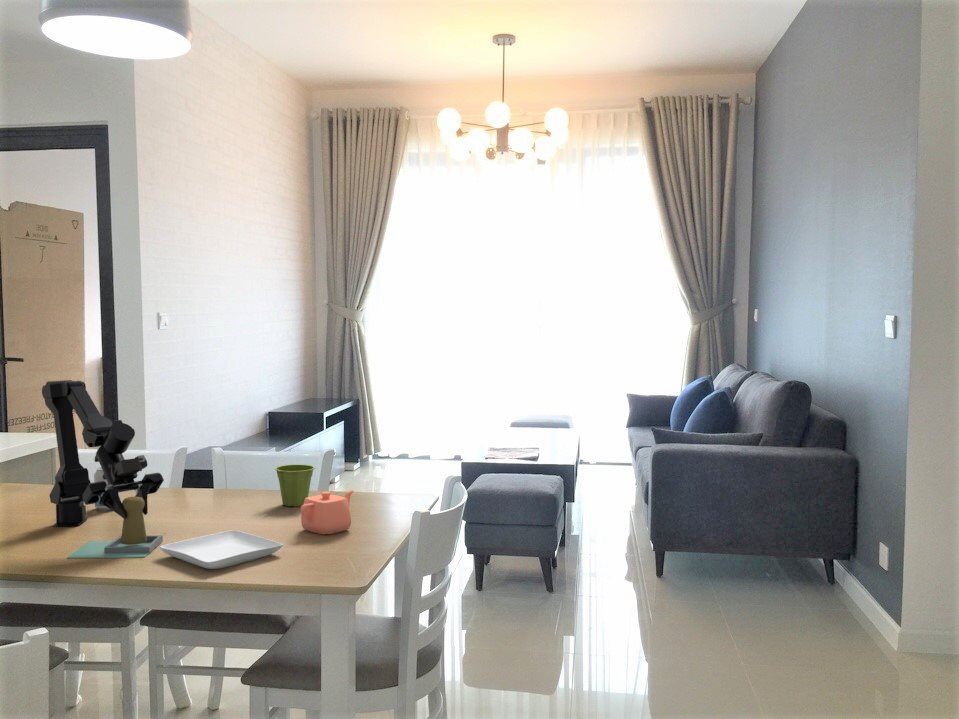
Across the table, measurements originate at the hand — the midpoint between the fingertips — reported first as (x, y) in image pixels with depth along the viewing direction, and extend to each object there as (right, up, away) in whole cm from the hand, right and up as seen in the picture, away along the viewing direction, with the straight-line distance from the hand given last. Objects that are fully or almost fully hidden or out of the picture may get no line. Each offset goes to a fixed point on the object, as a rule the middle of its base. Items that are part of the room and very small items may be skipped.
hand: (136, 515), depth 210 cm
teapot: (+44, -8, +20) cm, 49 cm away
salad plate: (+23, -9, -5) cm, 25 cm away
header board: (-5, -8, 0) cm, 9 cm away
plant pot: (+29, -6, +49) cm, 57 cm away
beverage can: (-25, -6, +42) cm, 49 cm away
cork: (-1, -7, +1) cm, 7 cm away
